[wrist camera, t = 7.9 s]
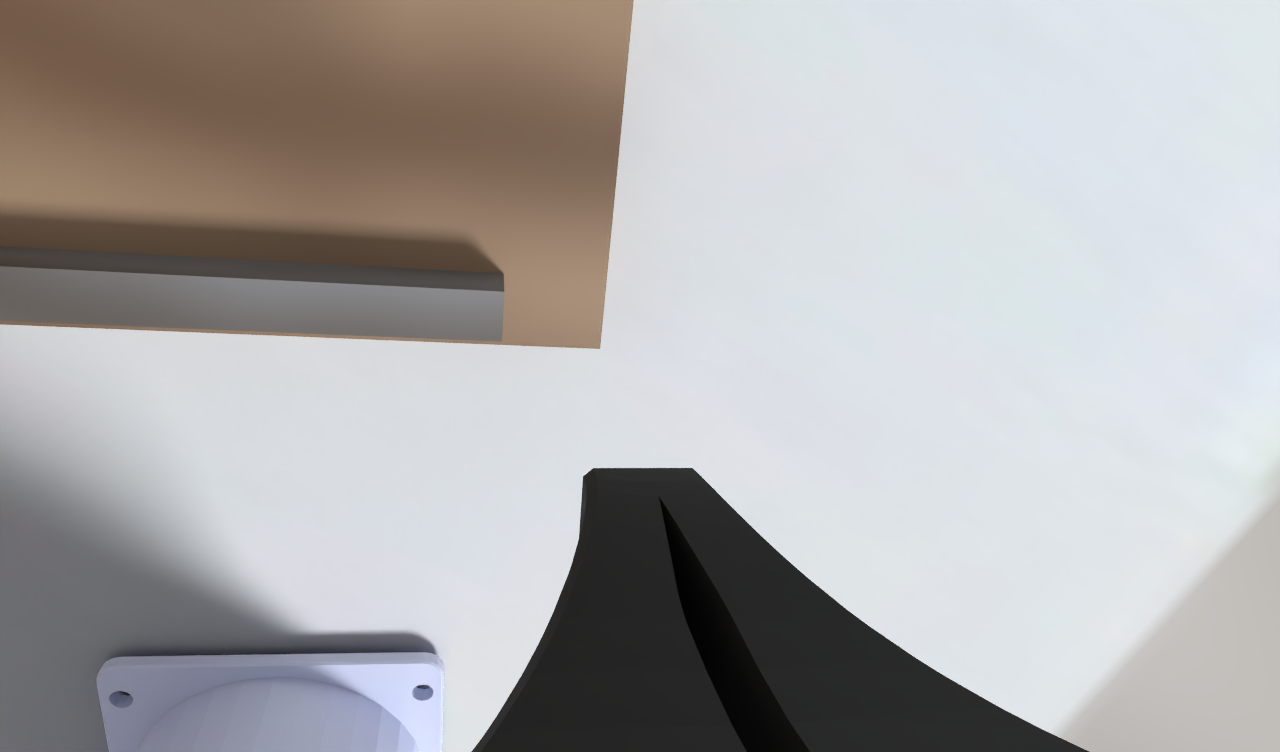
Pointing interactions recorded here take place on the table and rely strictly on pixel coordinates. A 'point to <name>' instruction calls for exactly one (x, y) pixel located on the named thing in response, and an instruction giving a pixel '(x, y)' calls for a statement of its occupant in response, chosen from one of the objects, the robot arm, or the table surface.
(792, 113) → the table surface
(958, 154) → the table surface
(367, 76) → the keeper track
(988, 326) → the table surface
